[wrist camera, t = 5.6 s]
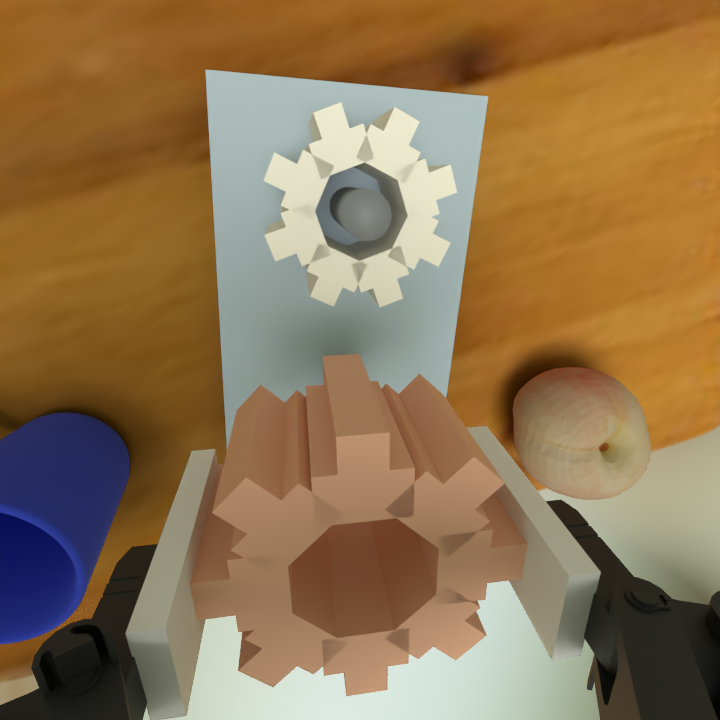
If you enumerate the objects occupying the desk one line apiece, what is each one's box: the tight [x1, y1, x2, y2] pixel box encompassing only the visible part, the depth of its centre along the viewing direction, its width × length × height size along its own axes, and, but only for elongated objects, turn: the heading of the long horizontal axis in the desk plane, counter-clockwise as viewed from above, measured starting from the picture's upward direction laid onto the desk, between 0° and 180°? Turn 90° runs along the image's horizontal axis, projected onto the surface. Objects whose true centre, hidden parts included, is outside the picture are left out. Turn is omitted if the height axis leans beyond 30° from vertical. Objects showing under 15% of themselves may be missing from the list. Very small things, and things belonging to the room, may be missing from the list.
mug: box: [0, 412, 130, 644], centre depth 24 cm, size 8×12×10 cm
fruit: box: [513, 367, 651, 500], centre depth 29 cm, size 8×8×8 cm
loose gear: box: [190, 354, 527, 696], centre depth 14 cm, size 9×9×5 cm
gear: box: [263, 102, 457, 307], centre depth 22 cm, size 9×9×5 cm
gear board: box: [205, 70, 488, 448], centre depth 24 cm, size 14×21×8 cm, turn 176°
